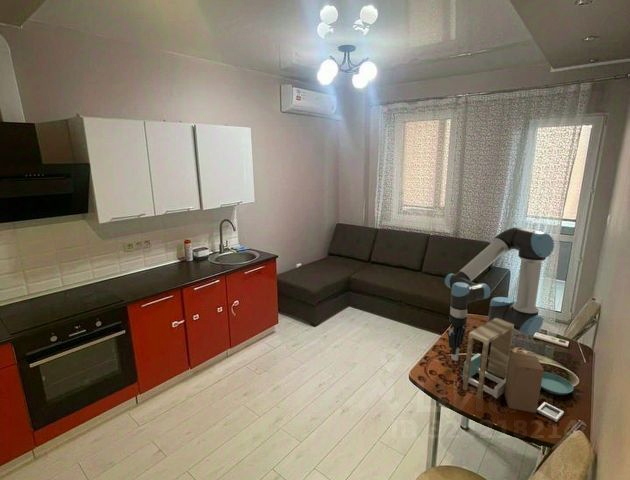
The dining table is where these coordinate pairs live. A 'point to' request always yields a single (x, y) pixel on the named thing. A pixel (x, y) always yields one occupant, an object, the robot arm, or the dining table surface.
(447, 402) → the dining table surface
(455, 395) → the dining table surface
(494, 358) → the beige tall open frame
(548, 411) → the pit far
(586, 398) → the dining table surface
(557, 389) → the saucer
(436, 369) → the dining table surface
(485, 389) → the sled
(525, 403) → the wooden block
